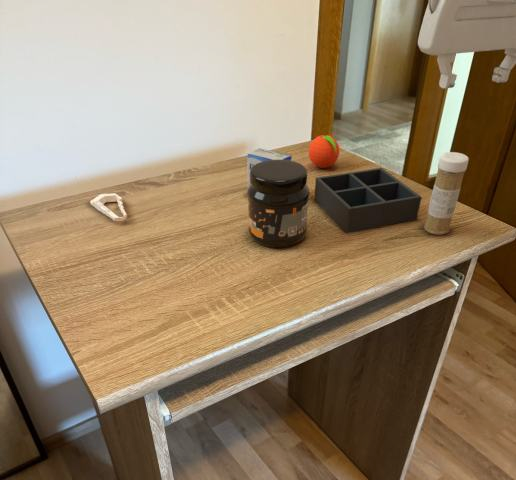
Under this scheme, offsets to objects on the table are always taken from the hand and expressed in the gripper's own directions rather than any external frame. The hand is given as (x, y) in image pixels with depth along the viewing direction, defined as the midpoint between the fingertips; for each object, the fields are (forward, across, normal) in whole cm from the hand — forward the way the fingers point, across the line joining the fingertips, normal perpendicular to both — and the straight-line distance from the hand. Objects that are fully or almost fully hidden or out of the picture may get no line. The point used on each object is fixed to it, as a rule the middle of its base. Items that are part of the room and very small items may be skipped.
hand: (472, 84), depth 73 cm
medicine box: (+24, -24, +24) cm, 42 cm away
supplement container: (+24, -28, +8) cm, 38 cm away
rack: (+24, -8, +12) cm, 28 cm away
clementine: (+24, -7, +34) cm, 42 cm away
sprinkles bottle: (+24, 0, 0) cm, 24 cm away
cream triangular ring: (+25, -55, +28) cm, 66 cm away
